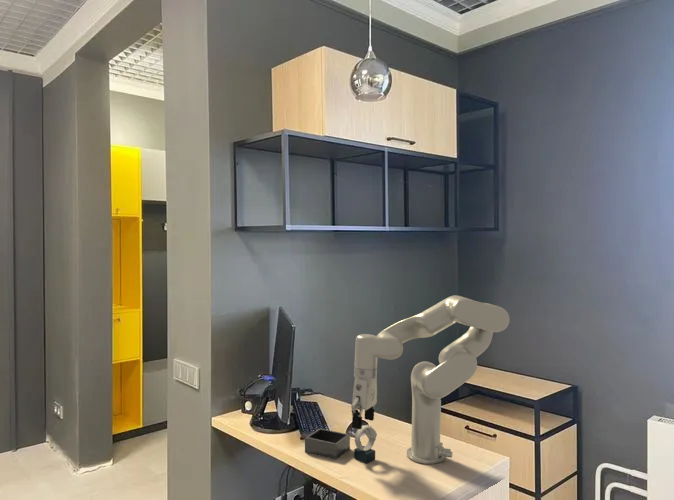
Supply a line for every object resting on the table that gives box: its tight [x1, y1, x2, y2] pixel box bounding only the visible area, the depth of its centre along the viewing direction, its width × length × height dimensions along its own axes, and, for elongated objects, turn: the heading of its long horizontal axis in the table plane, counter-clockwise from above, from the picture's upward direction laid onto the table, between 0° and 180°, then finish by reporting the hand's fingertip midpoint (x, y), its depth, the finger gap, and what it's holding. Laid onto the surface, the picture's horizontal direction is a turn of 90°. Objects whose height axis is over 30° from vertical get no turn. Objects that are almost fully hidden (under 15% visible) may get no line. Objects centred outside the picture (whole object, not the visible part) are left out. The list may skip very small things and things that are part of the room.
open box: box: [304, 427, 351, 460], centre depth 177 cm, size 12×10×5 cm
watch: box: [353, 424, 378, 465], centre depth 170 cm, size 6×8×11 cm
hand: (363, 423), depth 170 cm, fingers open, 9 cm apart
